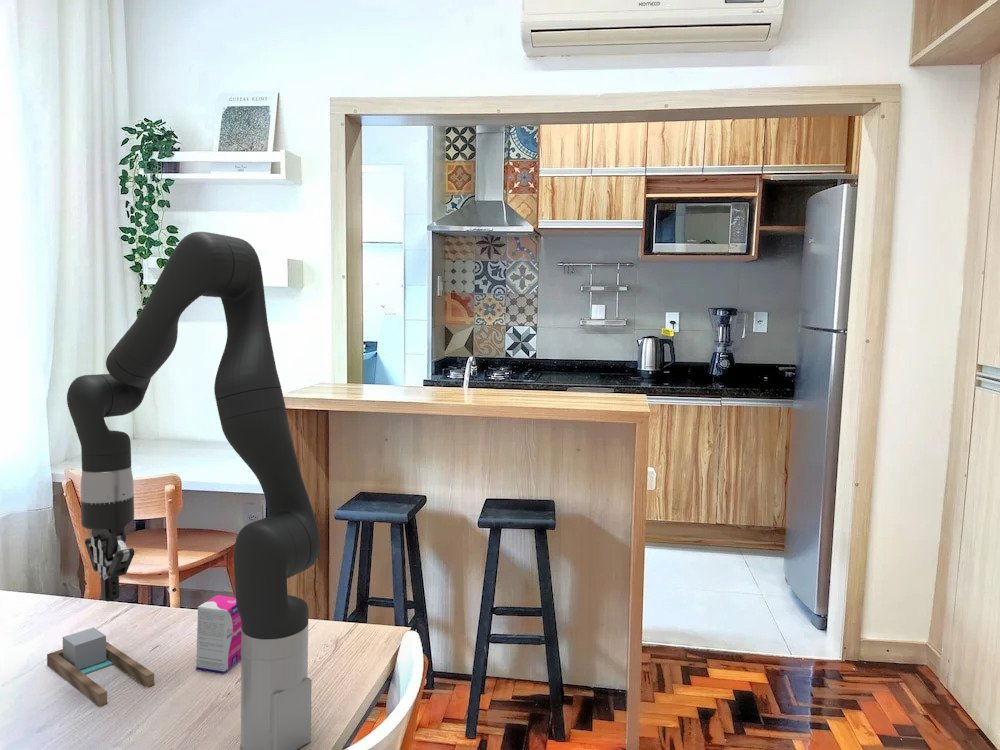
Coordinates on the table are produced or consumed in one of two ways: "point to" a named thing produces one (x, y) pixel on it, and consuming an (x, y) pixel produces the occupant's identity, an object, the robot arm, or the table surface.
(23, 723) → the table surface
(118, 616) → the table surface
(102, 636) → the block
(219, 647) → the supplement box
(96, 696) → the wooden u-shaped frame
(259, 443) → the robot arm
